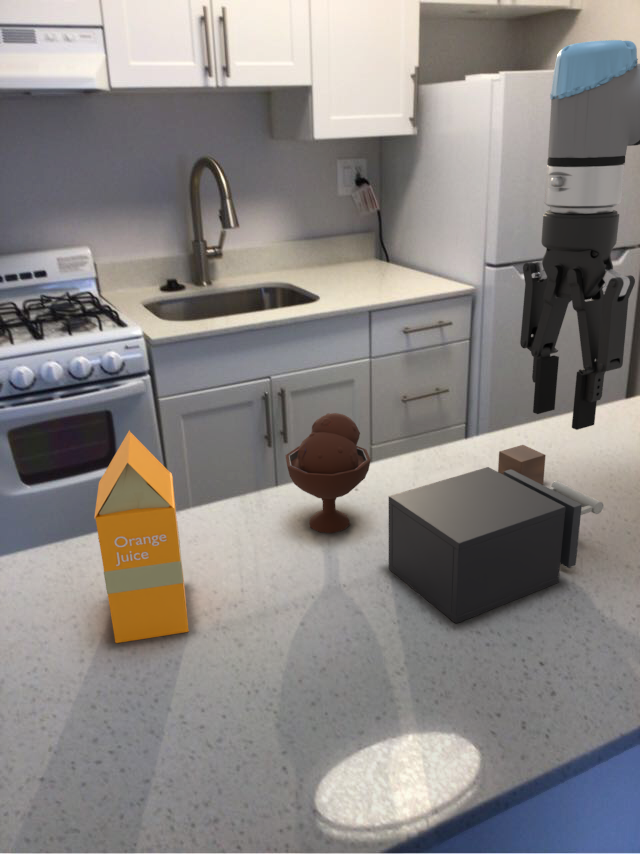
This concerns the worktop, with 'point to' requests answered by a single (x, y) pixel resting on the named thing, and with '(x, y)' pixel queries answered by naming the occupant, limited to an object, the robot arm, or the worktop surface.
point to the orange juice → (140, 545)
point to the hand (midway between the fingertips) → (562, 418)
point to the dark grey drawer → (573, 511)
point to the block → (523, 462)
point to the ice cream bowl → (329, 467)
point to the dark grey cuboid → (475, 541)
